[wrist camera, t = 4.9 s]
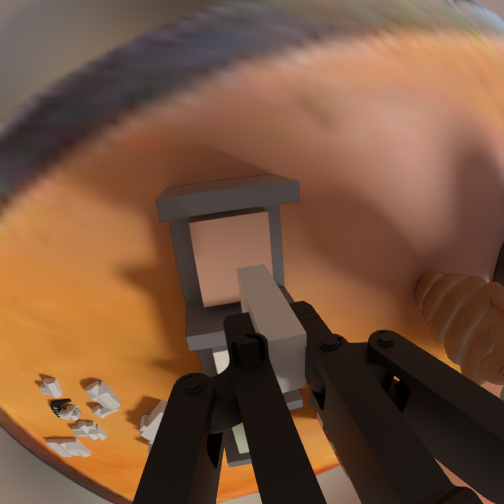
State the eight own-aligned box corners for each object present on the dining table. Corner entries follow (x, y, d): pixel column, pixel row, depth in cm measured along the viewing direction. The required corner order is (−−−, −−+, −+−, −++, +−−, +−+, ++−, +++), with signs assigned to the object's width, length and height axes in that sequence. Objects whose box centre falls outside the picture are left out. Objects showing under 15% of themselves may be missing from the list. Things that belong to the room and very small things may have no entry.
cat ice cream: (417, 237, 26) (562, 318, 9) (452, 259, 28) (566, 328, 12) (380, 312, 28) (494, 425, 11) (420, 323, 30) (516, 411, 14)
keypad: (272, 173, 21) (298, 181, 16) (286, 417, 31) (300, 451, 26) (165, 188, 20) (156, 200, 15) (222, 431, 30) (229, 467, 25)
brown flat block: (259, 205, 20) (267, 211, 18) (266, 281, 23) (274, 295, 20) (189, 215, 20) (188, 223, 17) (202, 291, 22) (204, 307, 20)
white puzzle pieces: (-23, 354, 20) (-30, 364, 18) (116, 312, 23) (111, 325, 21) (64, 452, 28) (62, 462, 26) (200, 437, 30) (202, 450, 28)
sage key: (278, 395, 25) (285, 413, 23) (280, 427, 28) (285, 443, 25) (227, 405, 25) (231, 424, 22) (235, 437, 27) (239, 453, 25)
